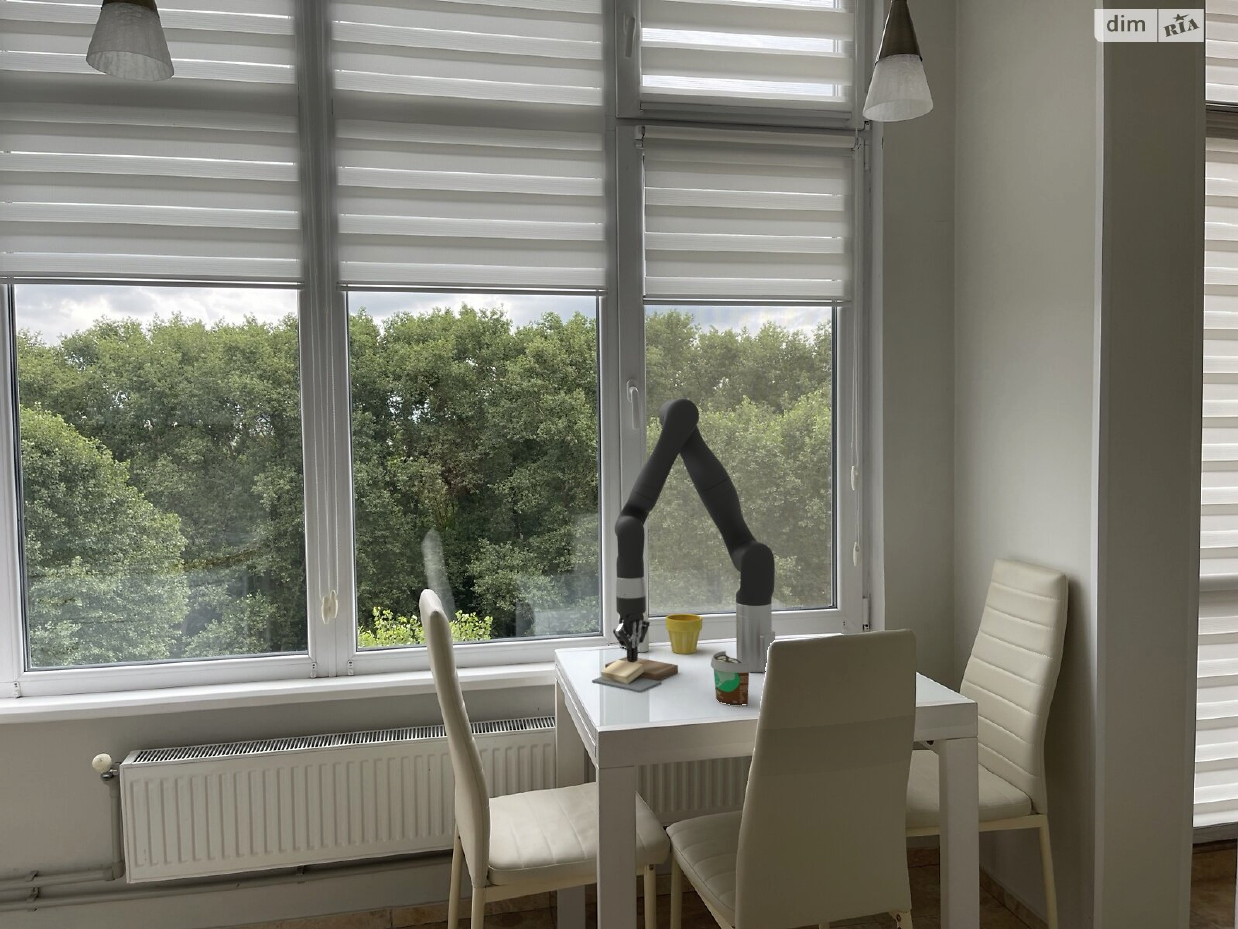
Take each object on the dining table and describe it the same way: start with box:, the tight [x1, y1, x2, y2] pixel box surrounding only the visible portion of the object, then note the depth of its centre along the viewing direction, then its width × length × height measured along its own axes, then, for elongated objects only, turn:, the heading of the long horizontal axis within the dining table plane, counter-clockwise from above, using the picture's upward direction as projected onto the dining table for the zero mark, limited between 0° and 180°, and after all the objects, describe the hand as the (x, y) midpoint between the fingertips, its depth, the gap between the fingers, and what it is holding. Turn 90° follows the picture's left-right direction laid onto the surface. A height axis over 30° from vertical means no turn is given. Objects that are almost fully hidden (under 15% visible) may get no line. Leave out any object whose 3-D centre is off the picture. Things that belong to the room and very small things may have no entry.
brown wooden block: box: [604, 656, 679, 681], centre depth 222 cm, size 16×10×2 cm, turn 52°
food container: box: [710, 650, 752, 706], centre depth 197 cm, size 12×6×10 cm, turn 21°
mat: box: [591, 676, 663, 694], centre depth 213 cm, size 15×9×1 cm, turn 52°
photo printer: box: [617, 611, 650, 653], centre depth 246 cm, size 10×4×12 cm, turn 39°
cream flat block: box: [600, 659, 644, 684], centre depth 215 cm, size 8×7×2 cm
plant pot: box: [665, 613, 703, 655], centre depth 243 cm, size 10×10×10 cm
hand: (632, 661), depth 219 cm, fingers closed
